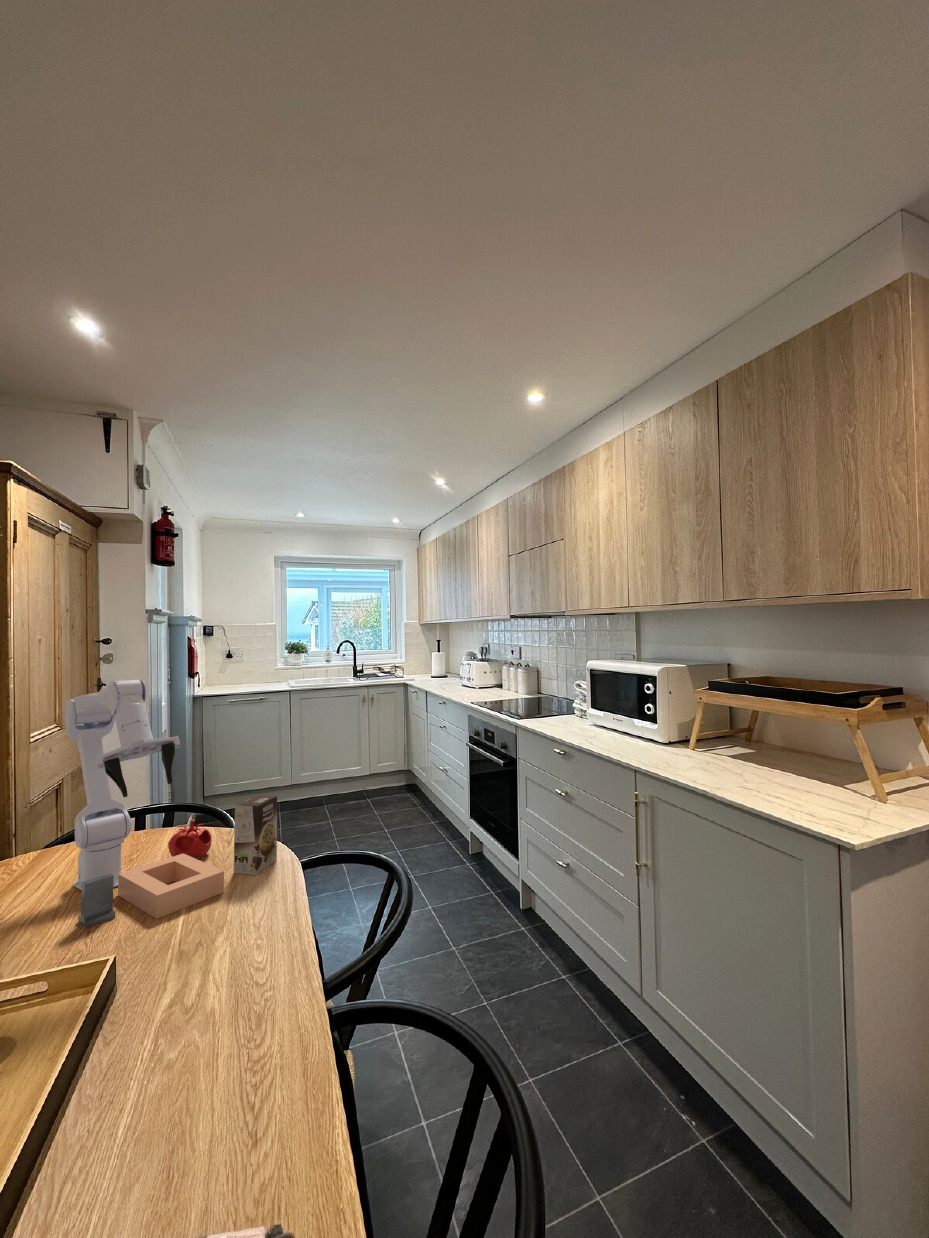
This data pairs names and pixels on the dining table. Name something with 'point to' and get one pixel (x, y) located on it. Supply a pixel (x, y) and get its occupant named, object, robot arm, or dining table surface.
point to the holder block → (161, 899)
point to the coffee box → (255, 834)
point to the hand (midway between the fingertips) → (148, 788)
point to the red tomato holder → (190, 841)
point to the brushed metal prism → (97, 901)
